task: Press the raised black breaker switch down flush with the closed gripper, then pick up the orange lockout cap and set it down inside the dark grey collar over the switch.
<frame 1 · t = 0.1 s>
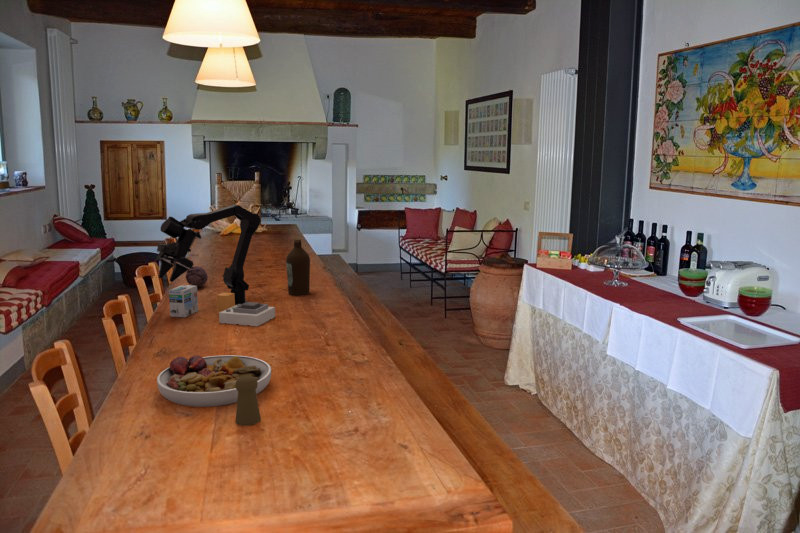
hand: (165, 279, 248), 15 cm above the table, tool tilted 35°, fingers open, 9 cm apart
breaker switch: (250, 307, 245), point 5 cm above the table, slide at 0.0 cm
white recessed base box: (247, 319, 247), on the table
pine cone: (197, 287, 304), on the table
salt shaker: (248, 421, 156), on the table
olive oil: (298, 294, 291), on the table
light bulb box: (184, 314, 256), on the table
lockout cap: (226, 313, 256), on the table
bowl: (216, 390, 177), on the table
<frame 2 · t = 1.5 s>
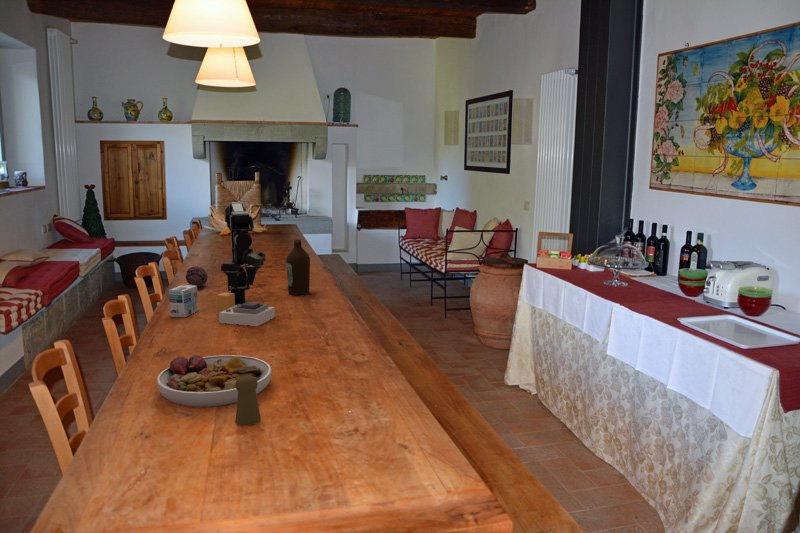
hand: (243, 287, 243), 13 cm above the table, tool pointing down, fingers open, 9 cm apart
nothing on the table moved.
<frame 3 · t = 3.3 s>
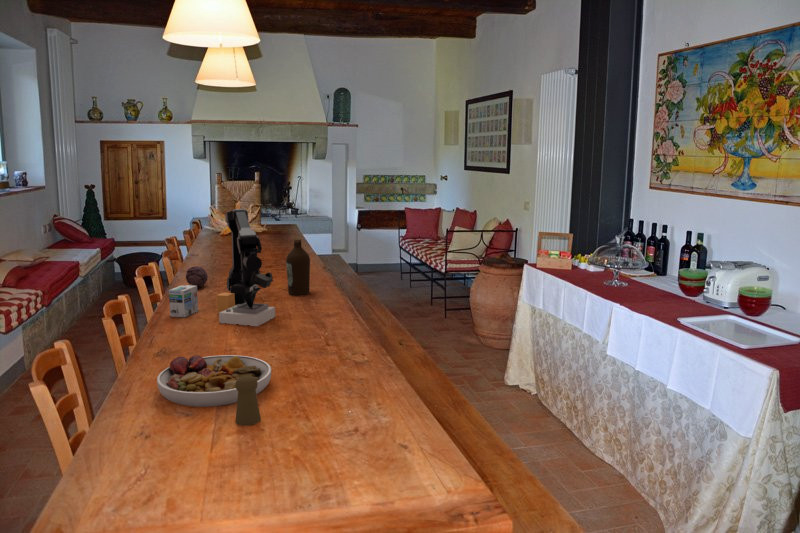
hand: (250, 307, 245), 5 cm above the table, tool pointing down, fingers closed, pressing on breaker switch
breaker switch: (250, 310, 246), point 4 cm above the table, slide at 1.3 cm, touching gripper
everything else where it was.
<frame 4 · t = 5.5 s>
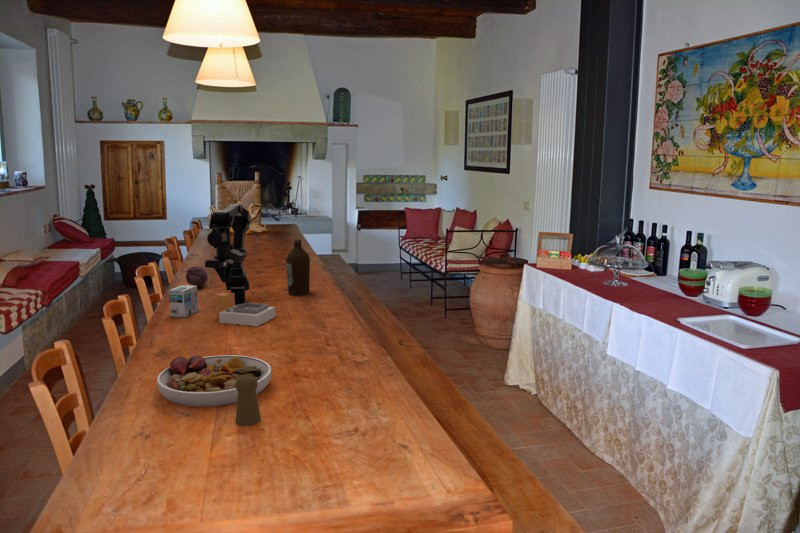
hand: (225, 281, 254), 13 cm above the table, tool pointing down, fingers closed
breaker switch: (251, 313, 246), point 3 cm above the table, slide at 2.4 cm
everything else where it was.
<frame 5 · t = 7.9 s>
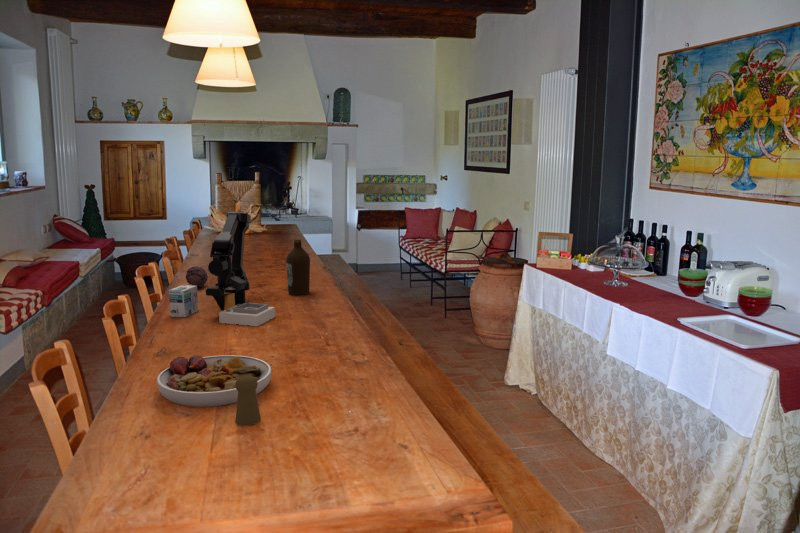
hand: (226, 308, 256), 2 cm above the table, tool pointing down, fingers closed on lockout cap, 5 cm apart
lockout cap: (226, 313, 256), on the table, touching gripper
everything else where it was.
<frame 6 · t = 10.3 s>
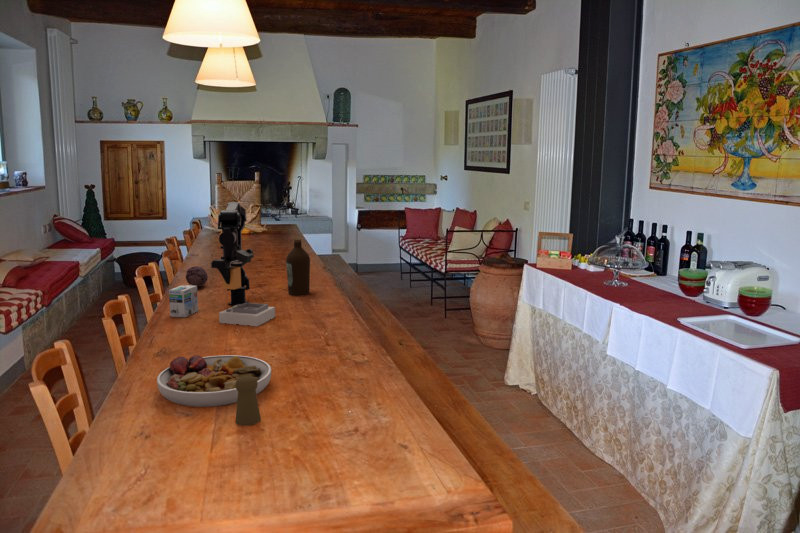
hand: (232, 282, 250), 13 cm above the table, tool pointing down, fingers closed on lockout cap, 5 cm apart
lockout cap: (232, 287, 251), point 11 cm above the table, touching gripper
everything else where it was.
when the fingers open (7 cm above the table, at t = 12.9 s): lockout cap stays where it is, resting on breaker switch.
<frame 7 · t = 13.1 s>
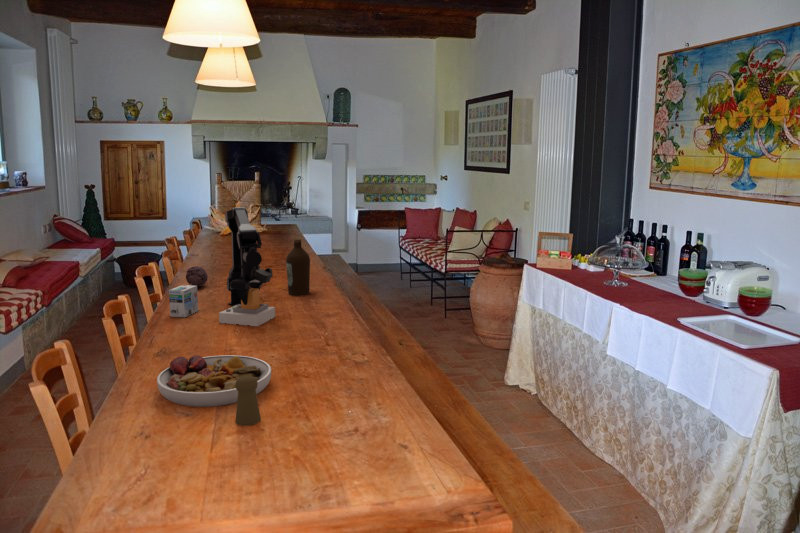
hand: (250, 302, 245), 7 cm above the table, tool pointing down, fingers open, 7 cm apart
breaker switch: (251, 313, 246), point 3 cm above the table, slide at 2.5 cm, touching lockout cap
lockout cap: (250, 310, 246), point 4 cm above the table, touching breaker switch
everything else where it was.
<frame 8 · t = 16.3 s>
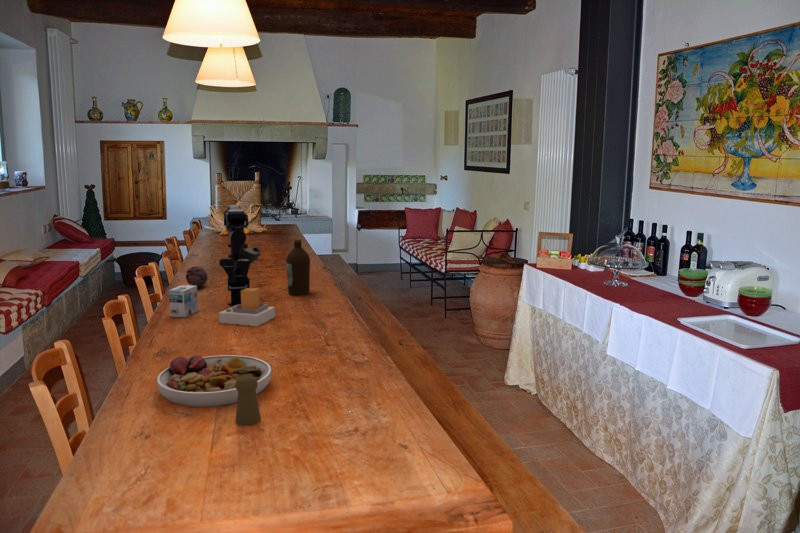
hand: (239, 280, 256), 13 cm above the table, tool pointing down, fingers open, 9 cm apart
nothing on the table moved.
at the end: breaker switch slide at 2.5 cm; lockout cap 0.1 cm from the target spot on the white recessed base box, point 4.0 cm above the white recessed base box's base; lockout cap tilted 0° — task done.
